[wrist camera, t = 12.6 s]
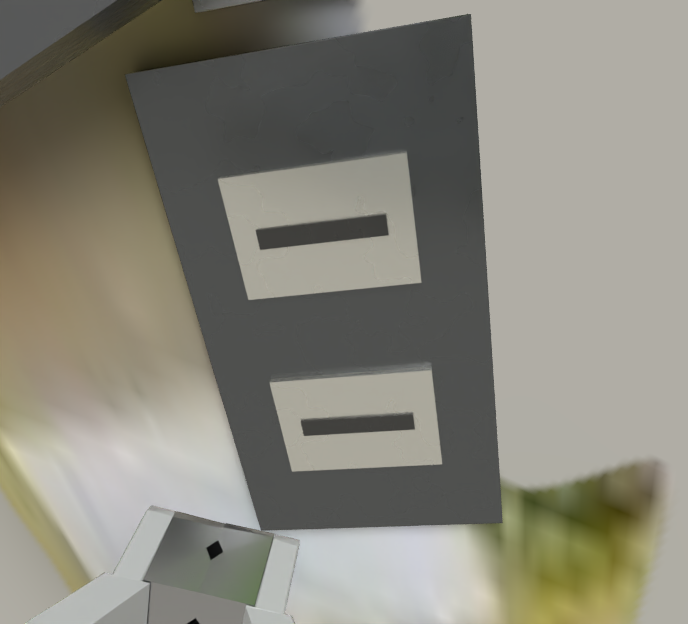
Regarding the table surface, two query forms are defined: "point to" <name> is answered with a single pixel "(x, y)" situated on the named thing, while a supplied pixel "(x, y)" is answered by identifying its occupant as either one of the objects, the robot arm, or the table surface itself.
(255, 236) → the plate
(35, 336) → the table surface
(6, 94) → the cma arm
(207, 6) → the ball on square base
